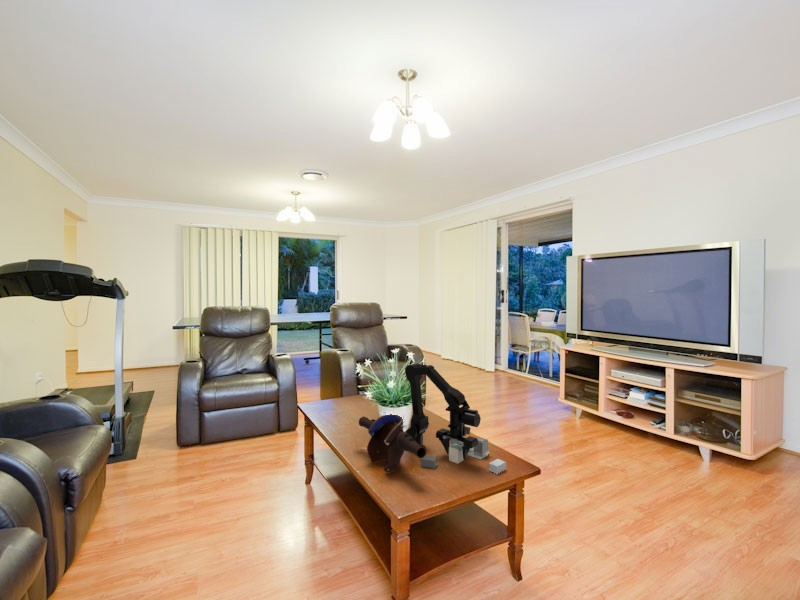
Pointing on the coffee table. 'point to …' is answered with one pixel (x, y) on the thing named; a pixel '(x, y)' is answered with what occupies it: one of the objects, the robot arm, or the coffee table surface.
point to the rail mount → (475, 448)
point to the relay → (429, 462)
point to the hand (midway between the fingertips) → (456, 457)
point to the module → (455, 453)
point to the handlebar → (389, 440)
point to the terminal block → (497, 466)
